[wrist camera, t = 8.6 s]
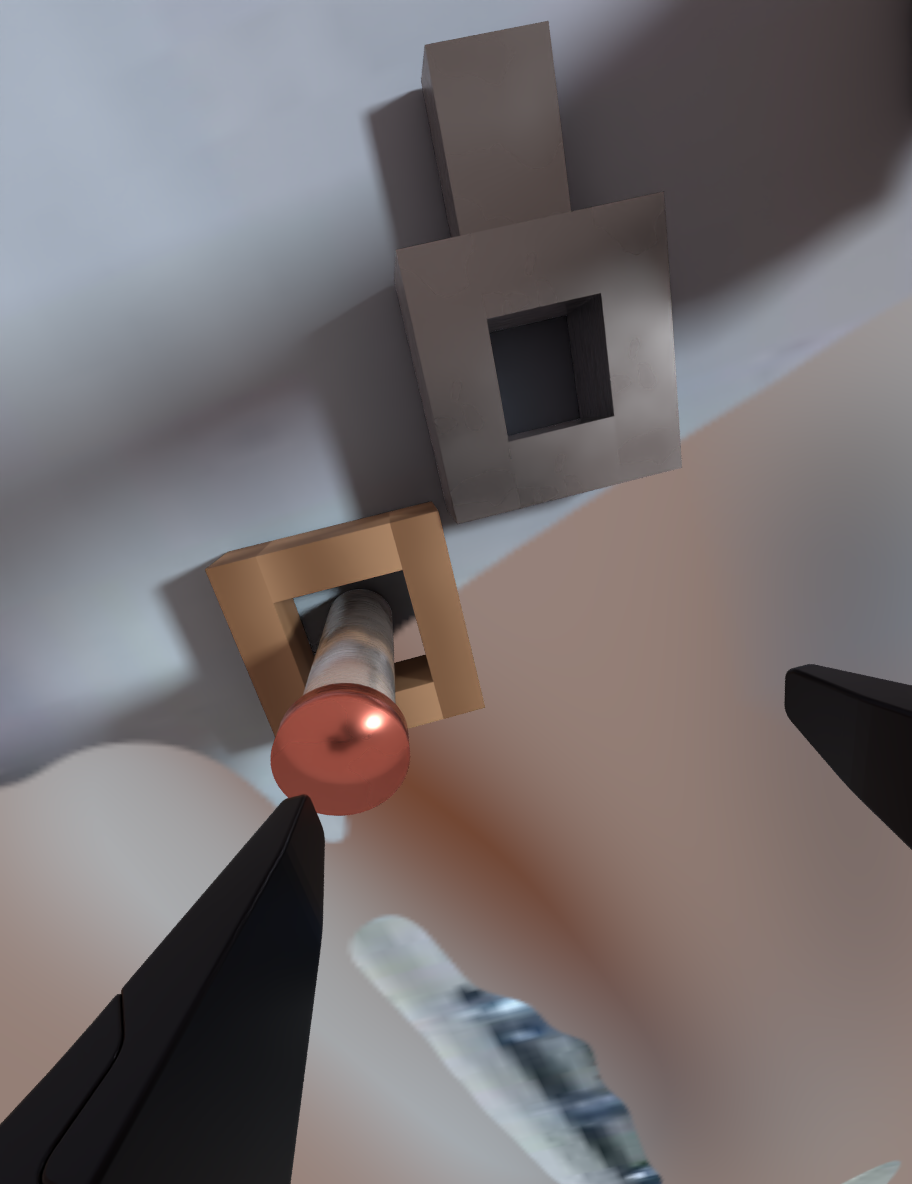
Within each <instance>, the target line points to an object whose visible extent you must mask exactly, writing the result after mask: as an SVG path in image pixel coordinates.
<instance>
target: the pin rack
mask: <svg viewBox="0 0 912 1184" xmlns="http://www.w3.org/2000/svg"><path fill="white" fill-rule="evenodd" d="M400 570H403V573H404V577H405V580H406V584H407V588H408V591H409V595H410V599H411V602H412V606H413V609H414V613H415V617H416V620H417V624H418V627H419V631H420V635H421V638H422V642H423V646H424V650H425V653H426V655H422V656H419V657H415V658H411V659H407V660H404V661H400V662H396V663H394V673H395V701H396V705H397V706H398V707H399V709H400V710H401V712H402V714H403V715H404V718H405V720H406V723H407V727H408V729H409V728H412V727H416V726H420V725H423V724H427V723H431V722H434V721H438V720H442V719H445V718H449V717H452V716H456V715H459V714H463V713H467V712H471V711H474V710H478V709H482V708H485V705H484V701H483V697H482V692H481V688H480V684H479V680H478V676H477V671H476V667H475V663H474V659H473V655H472V650H471V646H470V642H469V638H468V634H467V629H466V625H465V621H464V617H463V613H462V608H461V604H460V600H459V596H458V592H457V587H456V583H455V579H454V575H453V571H452V566H451V562H450V558H449V554H448V549H447V545H446V541H445V537H444V533H443V528H442V524H441V520H440V516H439V512H438V510H437V508H436V507H435V505H434V504H433V502H432V501H430V502H426V503H422V504H418V505H414V506H410V507H406V508H402V509H398V510H394V511H390V512H386V513H382V514H378V515H374V516H370V517H366V518H362V519H358V520H354V521H350V522H346V523H342V524H338V525H334V526H330V527H326V528H322V529H318V530H314V531H310V532H306V533H302V534H298V535H294V536H290V537H286V538H282V539H278V540H274V541H270V542H265V543H261V544H257V545H253V546H249V547H245V548H241V549H237V550H233V551H229V552H227V553H226V554H224V555H223V556H222V557H220V558H219V559H218V560H217V561H215V562H214V563H213V564H211V565H210V566H209V567H207V568H206V569H205V571H206V573H207V575H208V578H209V580H210V583H211V585H212V587H213V590H214V592H215V595H216V597H217V599H218V602H219V604H220V606H221V609H222V611H223V614H224V616H225V618H226V621H227V623H228V626H229V628H230V630H231V633H232V635H233V638H234V640H235V642H236V645H237V647H238V649H239V652H240V654H241V657H242V659H243V661H244V664H245V666H246V669H247V671H248V673H249V676H250V678H251V680H252V683H253V685H254V688H255V690H256V692H257V695H258V697H259V700H260V702H261V704H262V707H263V709H264V711H265V714H266V716H267V719H268V721H269V723H270V726H271V728H272V731H273V733H274V735H275V737H276V735H277V732H278V729H279V726H280V723H281V721H282V719H283V717H284V715H285V713H286V712H287V710H288V709H289V708H290V706H291V705H292V704H293V703H294V702H295V701H296V700H298V699H299V698H300V697H301V696H303V693H304V690H305V687H306V683H307V680H308V677H309V674H310V671H311V667H312V664H313V661H314V655H313V653H312V650H311V647H310V644H309V642H308V639H307V636H306V633H305V631H304V628H303V625H302V622H301V619H300V617H299V614H298V611H297V608H296V606H295V603H294V600H293V598H295V597H299V596H303V595H306V594H310V593H314V592H318V591H322V590H326V589H330V588H334V587H338V586H342V585H346V584H349V583H353V582H357V581H361V580H365V579H369V578H373V577H377V576H381V575H385V574H388V573H392V572H396V571H400Z"/></svg>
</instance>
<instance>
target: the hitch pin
mask: <svg viewBox="0 0 912 1184" xmlns="http://www.w3.org/2000/svg"><path fill="white" fill-rule="evenodd" d="M409 763H410V748H409V734H408V727H407V723H406V720H405V718H404V715H403V714H402V712H401V710H400V709H399V707H398V706H397V705H396V701H395V673H394V646H393V618H392V611H391V608H390V606H389V604H388V603H387V601H386V600H385V599H384V598H383V597H382V596H381V595H379V594H378V593H376V592H374V591H371V590H367V589H353V590H350V591H347V592H345V593H343V594H341V595H340V596H339V597H338V598H337V599H336V600H335V601H334V602H333V604H332V605H331V607H330V610H329V614H328V617H327V620H326V623H325V626H324V629H323V633H322V636H321V639H320V642H319V645H318V648H317V652H316V655H315V658H314V661H313V664H312V667H311V671H310V674H309V677H308V680H307V683H306V687H305V690H304V693H303V696H301V697H300V698H299V699H298V700H296V701H295V702H294V703H293V704H292V705H291V706H290V708H289V709H288V710H287V712H286V713H285V715H284V717H283V719H282V721H281V723H280V726H279V729H278V732H277V735H276V737H275V740H274V743H273V746H272V750H271V769H272V773H273V776H274V779H275V781H276V783H277V784H278V786H279V788H280V789H281V790H282V792H283V793H284V794H285V795H286V796H287V797H288V798H290V797H294V796H298V795H302V794H306V795H308V796H309V797H310V798H311V800H312V802H313V805H314V807H315V810H316V812H317V813H320V814H325V815H334V816H343V815H352V814H357V813H361V812H364V811H367V810H370V809H372V808H374V807H376V806H378V805H379V804H381V803H383V802H384V801H386V800H387V799H388V798H390V797H391V796H392V795H393V794H394V793H395V792H396V791H397V789H398V788H399V787H400V785H401V784H402V782H403V781H404V779H405V777H406V774H407V772H408V768H409Z"/></svg>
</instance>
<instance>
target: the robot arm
mask: <svg viewBox="0 0 912 1184" xmlns="http://www.w3.org/2000/svg"><path fill="white" fill-rule="evenodd" d="M785 711H786V713H787V716H788V717H789V719H790V720H791V722H792V723H793V724H794V725H795V726H796V727H797V728H798V730H799V731H800V732H801V733H802V734H803V736H804V737H805V738H806V739H807V740H808V741H809V743H810V744H811V745H812V746H813V747H814V748H815V750H816V751H817V752H818V753H819V754H820V755H821V757H822V758H823V759H824V760H825V761H826V762H827V764H828V765H829V766H830V767H831V768H832V769H833V771H834V772H835V773H836V774H837V775H838V776H839V778H840V779H841V780H842V781H843V782H844V783H845V784H846V785H847V786H848V787H849V789H850V790H851V791H852V792H853V793H854V794H855V795H856V796H857V797H858V798H859V799H860V800H862V802H863V803H864V804H865V805H866V806H867V807H868V808H870V810H871V811H872V812H874V814H875V815H877V816H878V817H879V818H880V819H881V820H882V821H883V822H884V823H885V824H886V825H887V826H888V827H889V828H890V829H891V830H892V831H893V832H894V833H895V834H896V835H897V836H898V837H899V838H900V839H901V840H902V841H903V842H904V843H905V844H906V845H907V846H908V847H910V849H911V850H912V685H907V684H902V683H898V682H893V681H889V680H884V679H879V678H875V677H870V676H865V675H861V674H856V673H852V672H847V671H842V670H838V669H833V668H828V667H823V666H819V665H814V664H807V665H803V666H799V667H796V668H792V669H790V670H788V671H787V673H786V676H785ZM324 856H325V837H324V831H323V827H322V825H321V822H320V820H319V817H318V815H317V812H316V810H315V807H314V805H313V802H312V800H311V798H310V797H309V796H308V795H306V794H302V795H298V796H294V797H290V798H287V799H285V800H283V801H282V802H281V803H280V805H279V806H278V807H277V808H276V809H275V810H274V812H273V813H272V814H271V815H270V816H269V818H268V819H267V820H266V821H265V822H264V823H263V824H262V826H261V827H260V828H259V829H258V830H257V831H256V833H255V834H254V835H253V836H252V837H251V838H250V840H249V841H248V842H247V843H246V844H245V845H244V847H243V848H242V849H241V850H240V851H239V853H238V854H237V855H236V856H235V857H234V858H233V859H232V861H231V862H230V863H229V864H228V865H227V866H226V868H225V869H224V870H223V871H222V872H221V874H220V875H219V876H218V877H217V878H216V879H215V880H214V882H213V883H212V884H211V885H210V886H209V887H208V889H207V890H206V891H205V892H204V893H203V894H202V896H201V897H200V898H199V899H198V901H197V902H196V903H195V904H194V905H193V906H192V907H191V909H190V910H189V911H188V912H187V913H186V915H184V917H183V918H182V919H181V920H180V922H179V923H178V924H177V925H176V926H175V927H174V928H173V929H172V931H171V932H170V933H169V934H168V935H167V936H166V938H165V939H164V940H163V941H162V943H161V944H160V945H159V946H158V947H157V948H156V949H155V951H154V952H153V953H152V954H151V955H150V956H149V957H148V959H147V960H146V961H145V962H144V963H143V965H142V966H141V967H140V968H139V969H138V970H137V972H136V973H135V974H134V975H133V976H132V977H131V978H130V980H129V981H128V982H127V983H126V984H125V986H124V987H123V988H122V990H121V994H117V995H116V996H115V997H114V998H113V999H112V1000H111V1002H110V1003H109V1004H108V1005H107V1006H106V1007H105V1009H104V1010H103V1011H102V1012H101V1013H100V1014H99V1016H98V1017H97V1018H96V1019H95V1020H94V1021H93V1023H92V1024H91V1025H90V1026H89V1027H88V1028H87V1029H86V1031H85V1032H84V1033H83V1034H82V1035H81V1036H80V1037H79V1039H78V1040H77V1041H76V1042H75V1043H74V1044H73V1045H72V1047H71V1048H70V1049H69V1050H68V1051H67V1052H66V1053H65V1054H64V1056H63V1057H62V1058H61V1059H60V1060H59V1061H58V1062H57V1063H56V1065H55V1066H54V1067H53V1068H52V1069H51V1070H50V1071H49V1072H48V1073H47V1075H46V1076H45V1077H44V1078H43V1079H42V1080H41V1081H40V1082H39V1083H38V1084H37V1085H36V1086H35V1088H34V1089H33V1090H32V1091H31V1092H30V1093H29V1094H28V1095H27V1096H26V1097H25V1098H24V1099H23V1100H22V1101H21V1103H20V1104H19V1105H18V1106H17V1107H16V1108H15V1109H14V1110H13V1111H12V1112H11V1113H10V1115H9V1116H8V1117H7V1118H6V1119H5V1120H4V1121H3V1122H2V1123H1V1124H0V1184H291V1175H292V1168H293V1160H294V1152H295V1144H296V1136H297V1128H298V1121H299V1113H300V1105H301V1098H302V1090H303V1082H304V1074H305V1066H306V1059H307V1050H308V1043H309V1035H310V1027H311V1019H312V1012H313V1004H314V996H315V988H316V980H317V972H318V965H319V957H320V949H321V939H322V929H323V899H324Z"/></svg>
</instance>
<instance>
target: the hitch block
mask: <svg viewBox="0 0 912 1184" xmlns="http://www.w3.org/2000/svg"><path fill="white" fill-rule="evenodd" d="M421 84H422V89H423V94H424V99H425V105H426V110H427V115H428V120H429V125H430V131H431V136H432V141H433V146H434V151H435V157H436V162H437V167H438V172H439V177H440V183H441V188H442V193H443V198H444V203H445V209H446V214H447V219H448V224H449V229H450V235H451V238H447V239H443V240H438V241H434V242H429V243H425V244H420V245H415V246H411V247H406V248H402V249H397V250H396V252H395V270H394V283H395V288H396V292H397V296H398V301H399V305H400V309H401V314H402V318H403V322H404V326H405V331H406V335H407V339H408V344H409V348H410V352H411V357H412V361H413V365H414V370H415V374H416V378H417V383H418V387H419V391H420V396H421V400H422V404H423V408H424V413H425V417H426V421H427V426H428V430H429V434H430V439H431V443H432V447H433V452H434V456H435V460H436V465H437V469H438V473H439V478H440V482H441V486H442V490H443V495H444V499H445V503H446V508H447V511H448V512H449V514H450V515H451V516H452V517H453V519H454V520H455V521H456V523H457V524H460V523H464V522H468V521H472V520H476V519H480V518H484V517H488V516H492V515H496V514H500V513H504V512H508V511H512V510H516V509H520V508H524V507H528V506H532V505H536V504H540V503H544V502H548V501H552V500H556V499H560V498H564V497H567V496H571V495H575V494H579V493H583V492H587V491H591V490H595V489H599V488H603V487H607V486H611V485H615V484H619V483H623V482H627V481H631V480H635V479H639V478H643V477H647V476H651V475H655V474H658V473H662V472H667V471H671V470H674V469H678V468H682V462H681V445H680V430H679V414H678V399H677V384H676V368H675V353H674V337H673V322H672V306H671V291H670V276H669V260H668V245H667V229H666V214H665V198H664V191H663V192H658V193H654V194H649V195H645V196H640V197H636V198H631V199H626V200H622V201H617V202H613V203H608V204H603V205H599V206H594V207H590V208H585V209H581V210H576V211H571V206H570V197H569V189H568V181H567V172H566V164H565V155H564V147H563V139H562V130H561V122H560V114H559V105H558V97H557V89H556V80H555V72H554V63H553V55H552V47H551V38H550V30H549V22H548V21H545V22H540V23H535V24H530V25H525V26H520V27H514V28H509V29H504V30H499V31H494V32H489V33H484V34H478V35H473V36H468V37H463V38H458V39H453V40H448V41H442V42H437V43H432V44H427V45H425V47H424V57H423V67H422V77H421ZM564 315H567V322H568V330H569V338H570V345H571V353H572V361H573V368H574V376H575V384H576V391H577V399H578V407H579V415H580V419H576V420H571V421H567V422H563V423H559V424H555V425H551V426H547V427H543V428H539V429H534V430H530V431H526V432H522V433H518V434H514V435H510V436H508V435H507V430H506V424H505V419H504V413H503V408H502V402H501V396H500V391H499V385H498V380H497V374H496V369H495V363H494V358H493V352H492V346H491V341H490V335H489V333H490V332H495V331H499V330H503V329H508V328H512V327H516V326H521V325H525V324H529V323H534V322H538V321H543V320H547V319H551V318H556V317H560V316H564Z"/></svg>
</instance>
